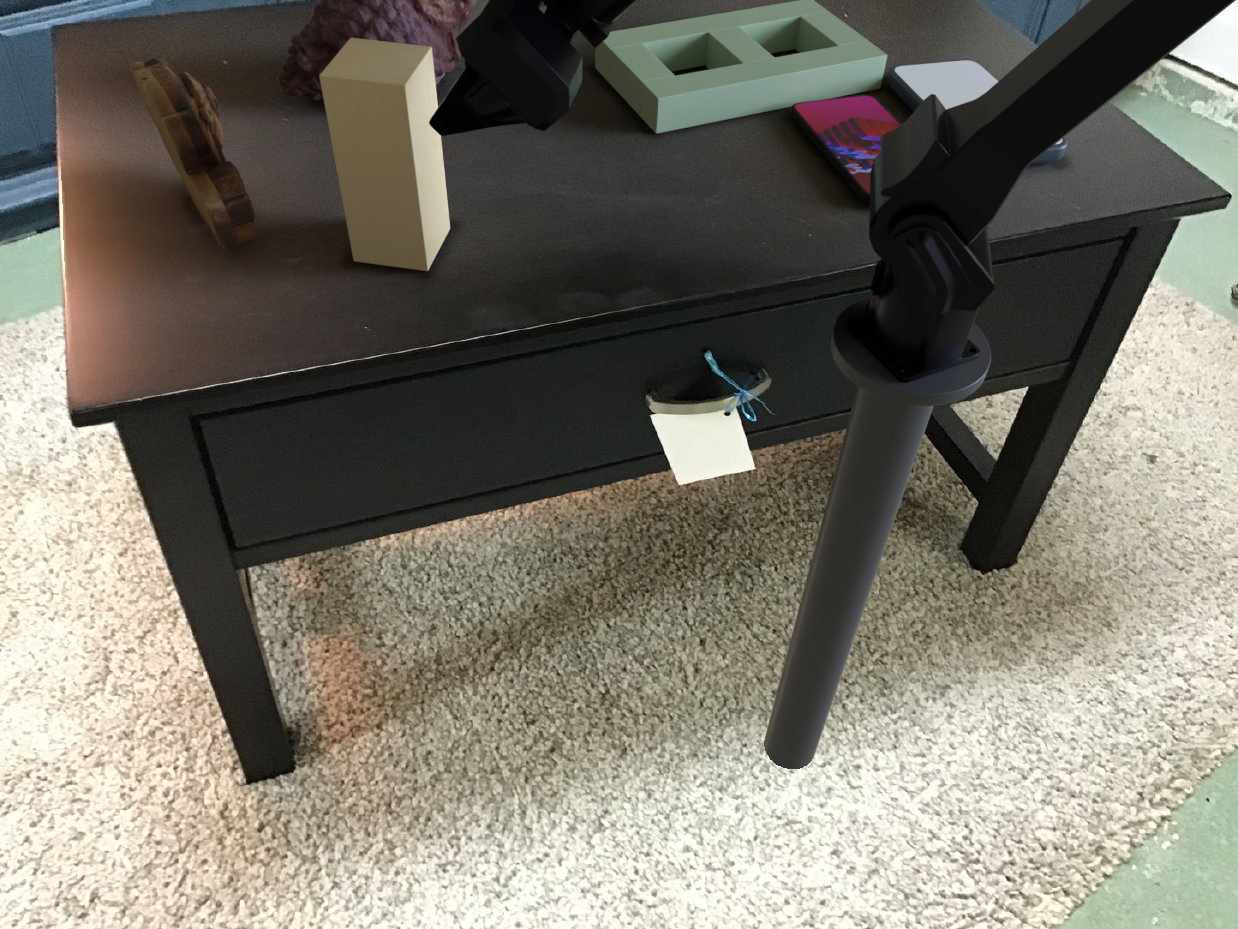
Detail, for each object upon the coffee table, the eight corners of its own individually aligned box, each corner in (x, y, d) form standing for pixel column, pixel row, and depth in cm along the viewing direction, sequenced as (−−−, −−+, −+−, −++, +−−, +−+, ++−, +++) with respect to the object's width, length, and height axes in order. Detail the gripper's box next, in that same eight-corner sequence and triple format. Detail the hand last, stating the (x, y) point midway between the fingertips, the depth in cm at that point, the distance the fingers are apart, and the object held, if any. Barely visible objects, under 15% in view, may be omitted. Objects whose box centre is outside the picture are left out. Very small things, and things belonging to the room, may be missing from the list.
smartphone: (873, 92, 87) (963, 184, 77) (871, 103, 87) (960, 195, 77) (787, 103, 85) (868, 198, 75) (785, 113, 86) (865, 209, 76)
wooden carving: (292, 255, 70) (259, 117, 63) (226, 278, 68) (184, 138, 61) (203, 149, 79) (166, 18, 72) (143, 166, 77) (98, 33, 70)
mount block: (880, 88, 89) (887, 54, 87) (655, 134, 83) (658, 98, 81) (806, 30, 97) (811, -2, 95) (595, 68, 90) (595, 33, 88)
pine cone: (309, 144, 80) (241, 14, 76) (312, 145, 89) (251, 28, 85) (515, 49, 82) (458, -83, 78) (497, 59, 91) (446, -58, 87)
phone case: (879, 83, 90) (967, 175, 80) (883, 65, 89) (972, 156, 78) (971, 74, 92) (1069, 163, 81) (976, 56, 91) (1076, 144, 80)
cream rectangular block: (450, 228, 73) (432, 46, 63) (428, 271, 69) (405, 85, 60) (379, 219, 73) (350, 37, 64) (353, 261, 70) (318, 75, 60)
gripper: (578, -272, 56) (405, -75, 65) (487, -172, 43) (287, 56, 52) (709, -100, 61) (531, 61, 70) (662, 36, 48) (451, 211, 57)
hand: (458, 91), depth 62 cm, fingers open, 9 cm apart
